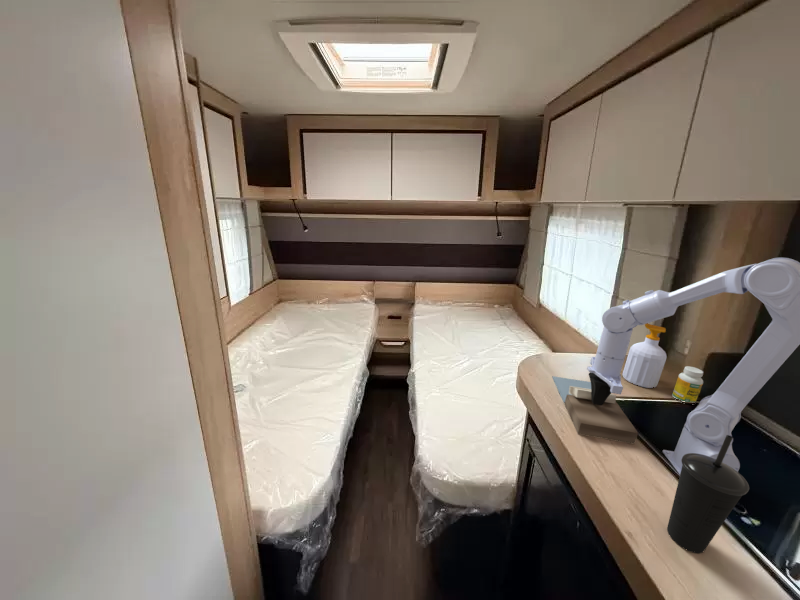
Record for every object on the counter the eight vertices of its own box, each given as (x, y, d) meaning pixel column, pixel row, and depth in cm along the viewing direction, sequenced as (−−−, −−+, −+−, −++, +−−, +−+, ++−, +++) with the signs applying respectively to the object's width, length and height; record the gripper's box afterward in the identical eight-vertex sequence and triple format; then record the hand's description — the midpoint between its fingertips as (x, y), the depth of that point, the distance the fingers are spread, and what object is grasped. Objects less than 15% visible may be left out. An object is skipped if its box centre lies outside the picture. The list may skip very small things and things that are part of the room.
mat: (612, 411, 88) (612, 410, 88) (563, 403, 90) (564, 402, 90) (594, 383, 101) (594, 382, 101) (552, 376, 103) (552, 376, 103)
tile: (615, 403, 84) (616, 395, 84) (576, 397, 85) (577, 389, 86) (604, 399, 90) (605, 391, 90) (568, 393, 91) (569, 385, 92)
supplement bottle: (682, 394, 99) (693, 364, 96) (700, 405, 94) (712, 374, 91) (666, 394, 98) (676, 364, 95) (683, 405, 93) (695, 374, 90)
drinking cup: (691, 519, 58) (733, 422, 52) (729, 565, 51) (783, 459, 45) (646, 514, 59) (683, 417, 53) (677, 559, 52) (724, 453, 45)
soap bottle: (656, 392, 99) (683, 313, 91) (620, 380, 104) (643, 305, 96) (657, 380, 106) (682, 306, 98) (623, 370, 111) (644, 299, 103)
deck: (634, 444, 76) (638, 432, 75) (577, 433, 78) (580, 423, 77) (613, 412, 87) (616, 402, 87) (564, 404, 90) (566, 394, 89)
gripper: (583, 339, 87) (571, 385, 92) (603, 365, 74) (589, 418, 78) (612, 343, 86) (599, 389, 90) (639, 370, 73) (622, 423, 77)
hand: (596, 403), depth 84 cm, fingers closed
